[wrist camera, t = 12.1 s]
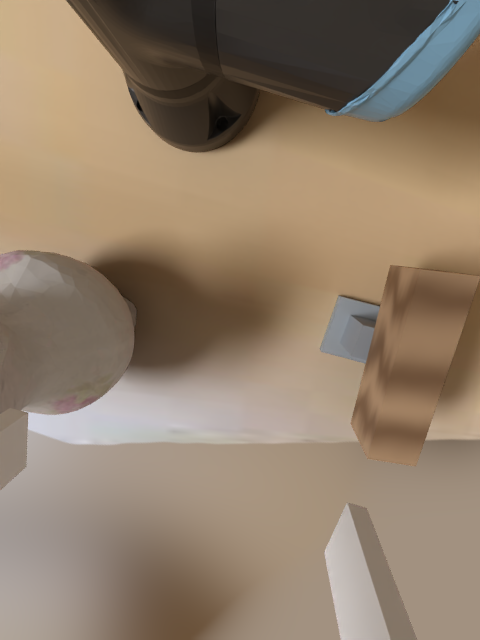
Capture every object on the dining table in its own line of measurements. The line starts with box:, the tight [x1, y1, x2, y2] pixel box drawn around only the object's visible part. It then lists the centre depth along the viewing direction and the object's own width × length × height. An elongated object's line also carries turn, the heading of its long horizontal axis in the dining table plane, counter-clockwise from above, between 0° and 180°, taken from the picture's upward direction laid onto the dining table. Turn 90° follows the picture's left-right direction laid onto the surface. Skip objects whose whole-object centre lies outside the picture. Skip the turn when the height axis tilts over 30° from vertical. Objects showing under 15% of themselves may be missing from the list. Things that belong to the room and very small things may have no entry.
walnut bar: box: [351, 265, 480, 466], centre depth 29 cm, size 20×5×6 cm, turn 174°
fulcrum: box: [320, 296, 380, 363], centre depth 35 cm, size 8×14×6 cm, turn 76°
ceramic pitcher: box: [0, 251, 137, 415], centre depth 30 cm, size 22×20×25 cm
